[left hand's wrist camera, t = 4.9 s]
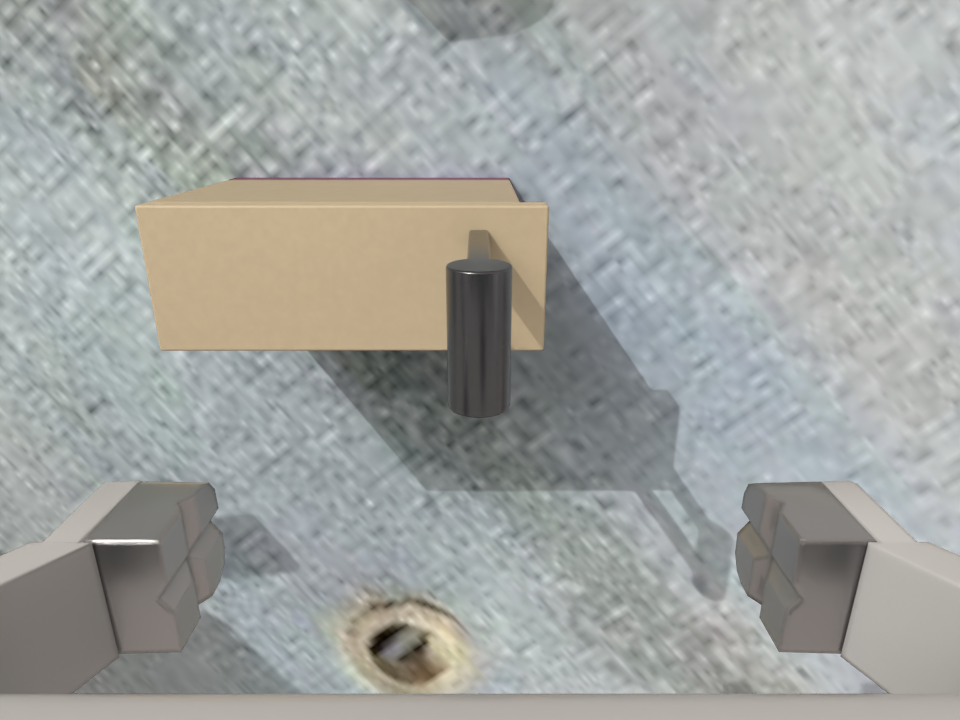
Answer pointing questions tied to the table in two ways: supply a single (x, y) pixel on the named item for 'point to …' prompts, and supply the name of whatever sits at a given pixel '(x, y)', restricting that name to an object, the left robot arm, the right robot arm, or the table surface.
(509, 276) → the lid
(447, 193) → the chest
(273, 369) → the table surface
